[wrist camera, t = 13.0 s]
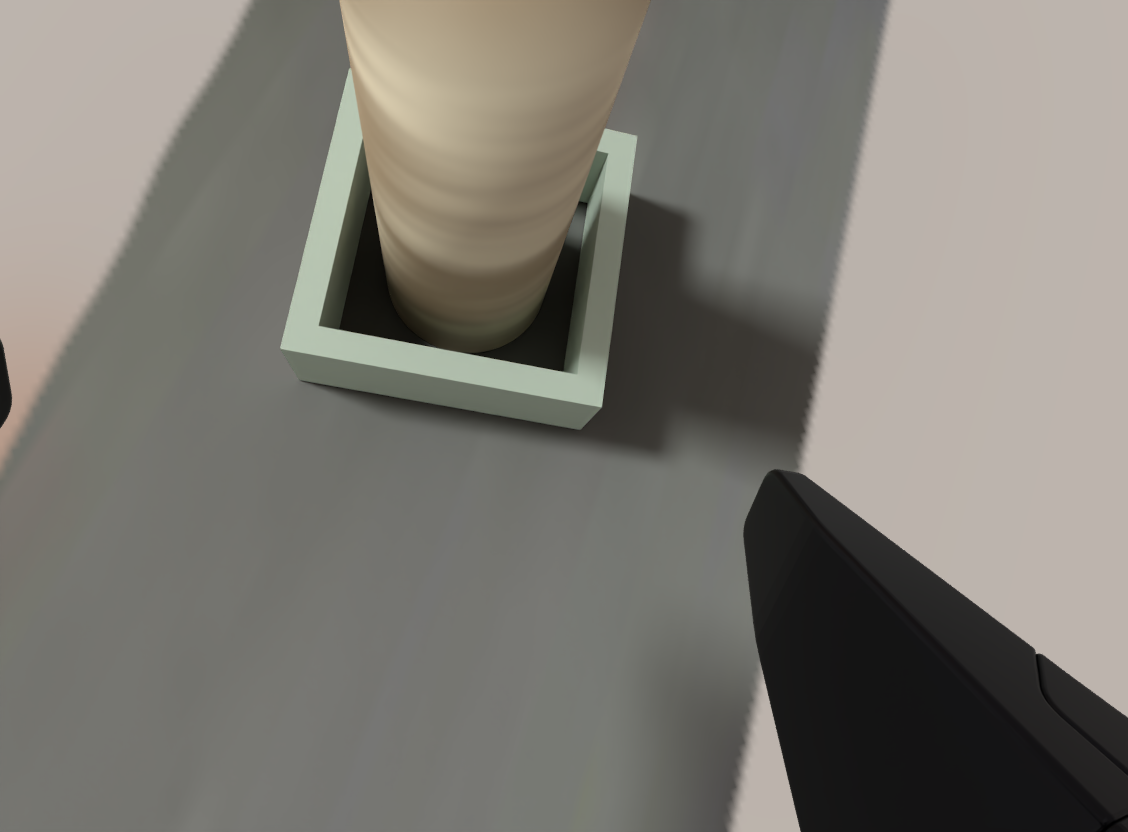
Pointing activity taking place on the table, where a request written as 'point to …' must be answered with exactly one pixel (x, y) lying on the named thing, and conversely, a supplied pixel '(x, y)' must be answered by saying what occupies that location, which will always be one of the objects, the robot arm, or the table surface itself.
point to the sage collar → (441, 372)
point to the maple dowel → (481, 147)
